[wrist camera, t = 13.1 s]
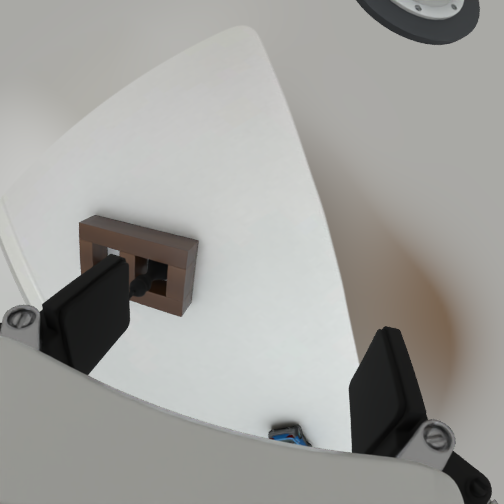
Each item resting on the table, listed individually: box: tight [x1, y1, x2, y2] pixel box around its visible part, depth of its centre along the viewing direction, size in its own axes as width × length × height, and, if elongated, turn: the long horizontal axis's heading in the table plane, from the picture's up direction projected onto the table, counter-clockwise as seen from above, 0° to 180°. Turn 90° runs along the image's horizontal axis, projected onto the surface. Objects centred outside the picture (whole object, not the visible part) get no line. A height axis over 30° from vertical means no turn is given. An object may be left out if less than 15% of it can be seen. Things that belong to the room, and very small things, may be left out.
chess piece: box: [129, 259, 168, 300], centre depth 38 cm, size 4×4×10 cm
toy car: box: [268, 425, 312, 447], centre depth 50 cm, size 6×12×6 cm, turn 26°
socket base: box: [79, 215, 199, 317], centre depth 41 cm, size 10×17×4 cm, turn 79°
